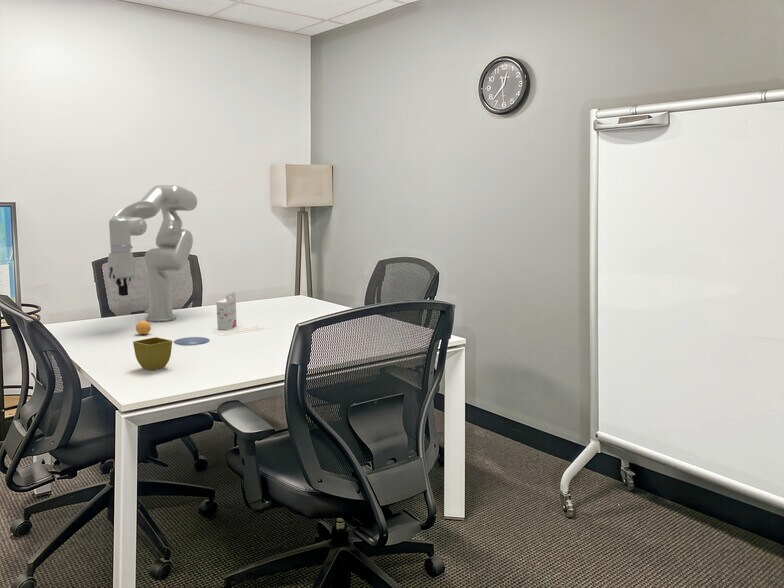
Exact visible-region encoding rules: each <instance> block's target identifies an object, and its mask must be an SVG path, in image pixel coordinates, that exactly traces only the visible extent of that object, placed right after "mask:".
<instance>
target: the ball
mask: <svg viewBox="0 0 784 588" xmlns="http://www.w3.org/2000/svg"><path fill="white" fill-rule="evenodd" d="M151 327H152V326H151V324H150V322H149V321H147V320H140V321H138V322H137V324H136V325H135V330H136V332H137V333H138V334H139V335H141V334H145V335H147V334H149V333H150V331H151V330H152V328H151Z"/></svg>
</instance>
